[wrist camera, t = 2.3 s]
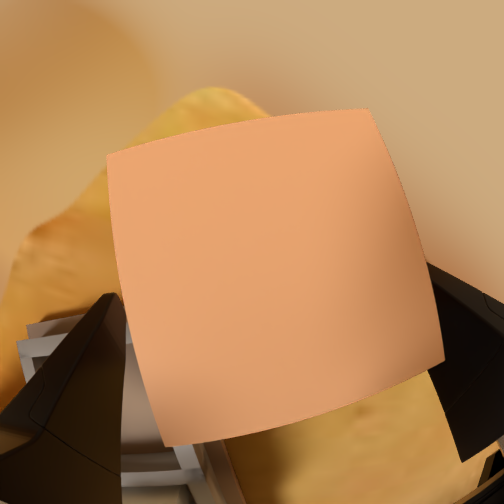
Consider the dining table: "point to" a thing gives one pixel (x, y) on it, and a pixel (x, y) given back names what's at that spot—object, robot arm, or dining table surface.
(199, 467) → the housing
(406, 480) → the dining table surface
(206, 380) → the jaw tall
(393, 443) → the dining table surface
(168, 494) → the cream white block
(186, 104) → the dining table surface
